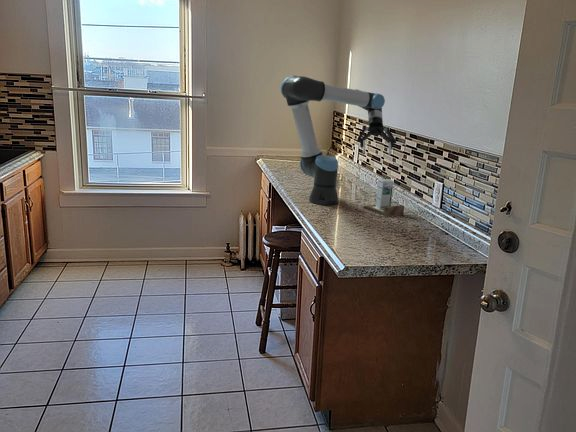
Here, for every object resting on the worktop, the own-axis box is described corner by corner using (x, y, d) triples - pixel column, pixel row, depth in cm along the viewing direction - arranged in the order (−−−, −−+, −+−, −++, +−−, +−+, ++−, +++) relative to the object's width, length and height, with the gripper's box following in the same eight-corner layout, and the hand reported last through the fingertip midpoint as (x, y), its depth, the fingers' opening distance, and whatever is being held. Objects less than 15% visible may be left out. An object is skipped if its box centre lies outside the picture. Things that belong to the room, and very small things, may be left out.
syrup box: (379, 209, 252) (383, 180, 248) (375, 206, 258) (378, 178, 254) (390, 209, 254) (393, 181, 250) (385, 206, 259) (389, 178, 255)
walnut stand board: (385, 216, 246) (386, 207, 245) (363, 208, 259) (364, 200, 258) (403, 214, 253) (404, 205, 251) (381, 206, 265) (382, 198, 264)
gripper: (396, 126, 279) (399, 158, 268) (351, 123, 278) (351, 155, 268) (400, 117, 272) (402, 150, 262) (353, 114, 272) (354, 146, 261)
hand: (377, 152), depth 265 cm, fingers open, 13 cm apart
